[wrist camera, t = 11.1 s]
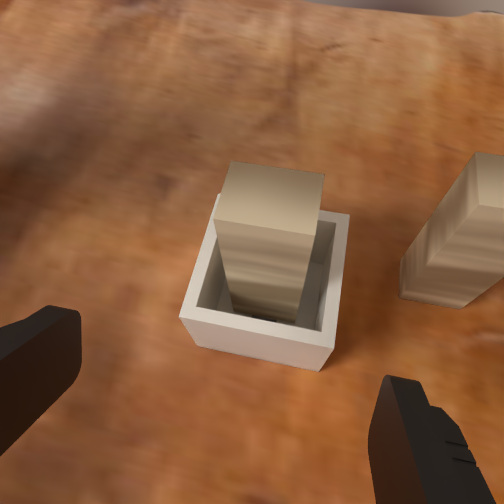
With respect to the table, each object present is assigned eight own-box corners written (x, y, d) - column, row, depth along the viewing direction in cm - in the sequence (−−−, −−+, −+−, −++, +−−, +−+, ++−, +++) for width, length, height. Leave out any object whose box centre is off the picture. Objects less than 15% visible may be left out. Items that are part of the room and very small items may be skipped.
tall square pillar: (294, 323, 24) (315, 235, 14) (233, 311, 25) (213, 218, 15) (301, 280, 25) (325, 174, 16) (243, 270, 26) (230, 160, 16)
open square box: (318, 371, 24) (334, 348, 18) (197, 345, 25) (178, 316, 19) (333, 261, 27) (349, 214, 22) (226, 242, 28) (218, 193, 23)
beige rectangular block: (460, 309, 25) (581, 220, 16) (398, 298, 26) (479, 204, 16) (458, 269, 27) (569, 164, 17) (400, 259, 27) (475, 151, 17)
